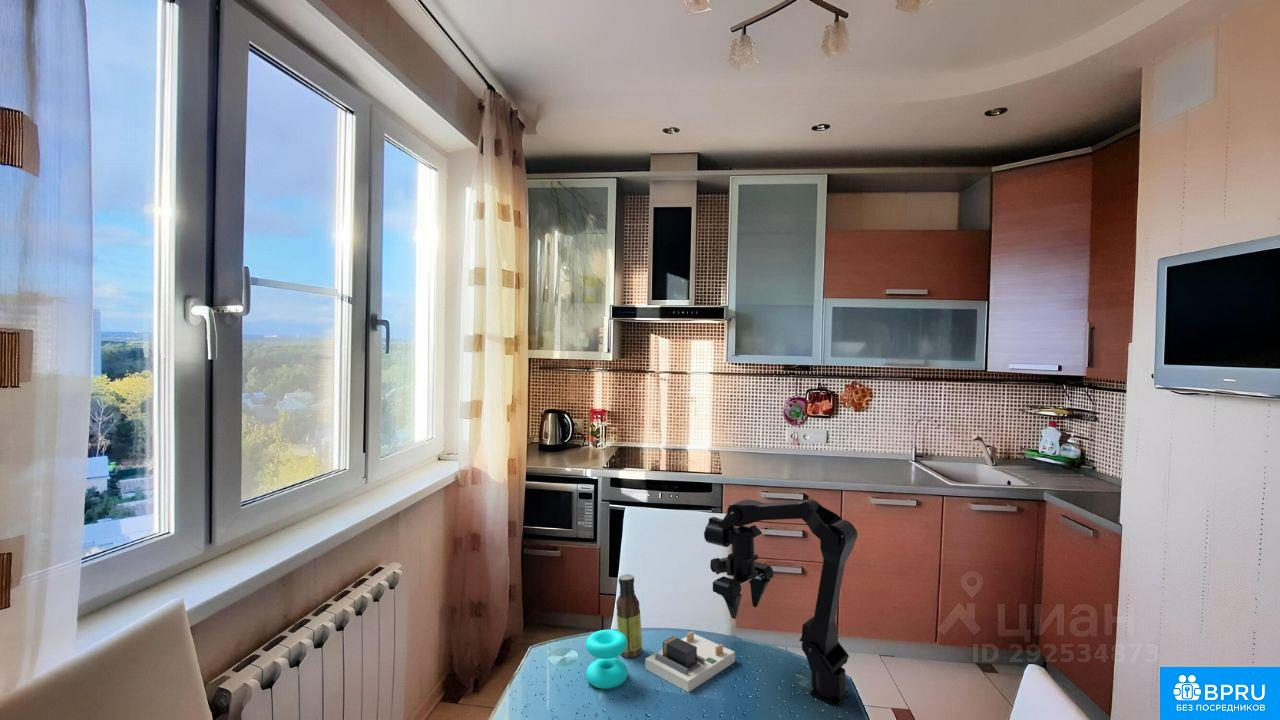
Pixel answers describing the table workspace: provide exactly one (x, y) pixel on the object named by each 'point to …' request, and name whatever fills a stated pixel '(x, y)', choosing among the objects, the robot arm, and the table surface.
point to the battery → (680, 652)
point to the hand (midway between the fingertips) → (744, 612)
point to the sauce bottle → (629, 616)
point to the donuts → (606, 659)
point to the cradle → (708, 665)
